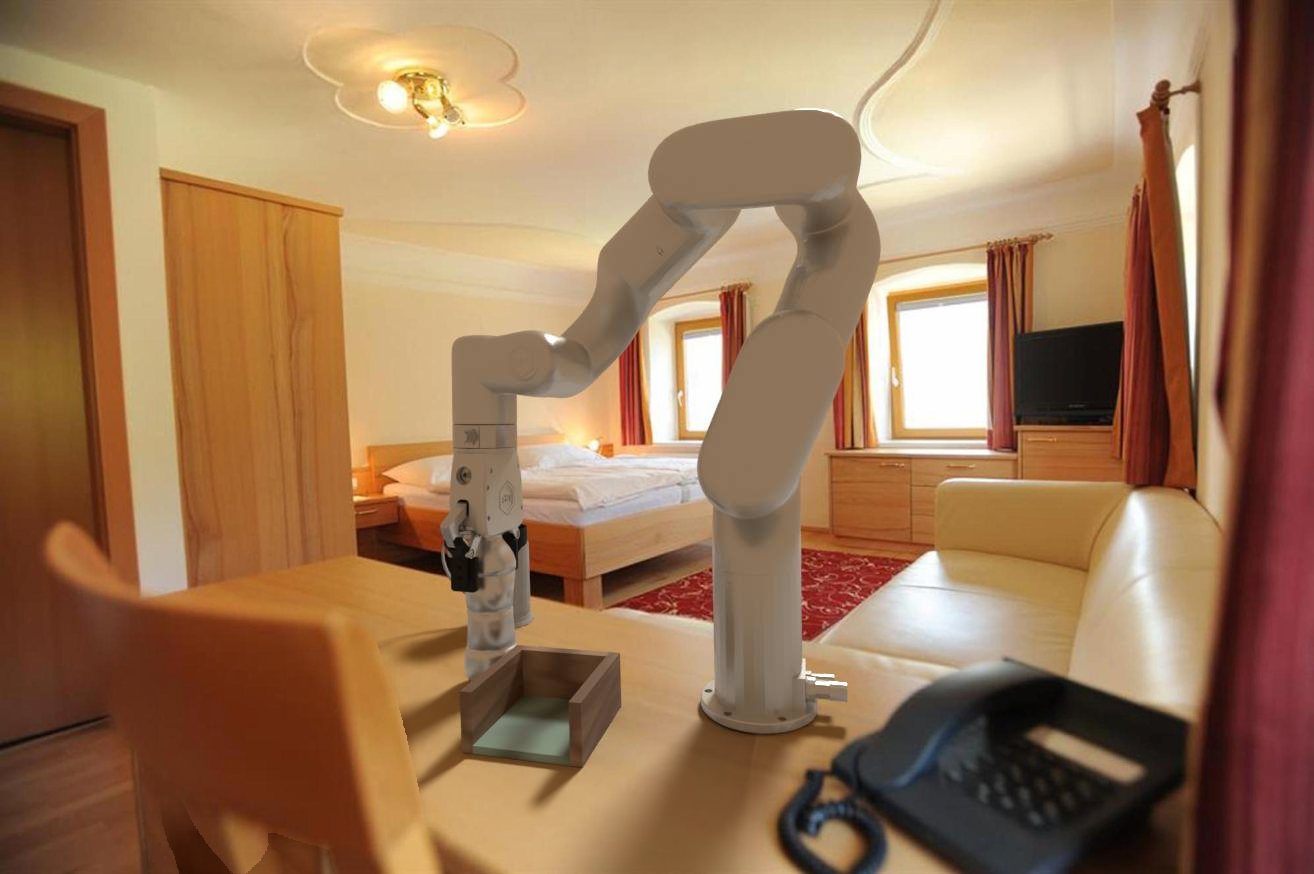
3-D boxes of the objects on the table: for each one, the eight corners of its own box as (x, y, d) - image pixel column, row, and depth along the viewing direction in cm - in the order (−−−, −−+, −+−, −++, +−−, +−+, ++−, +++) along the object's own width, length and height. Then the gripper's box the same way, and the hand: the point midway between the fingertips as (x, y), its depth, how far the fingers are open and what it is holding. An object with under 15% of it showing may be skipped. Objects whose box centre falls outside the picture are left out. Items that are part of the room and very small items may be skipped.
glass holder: (527, 630, 92) (524, 532, 92) (433, 632, 92) (430, 534, 92) (538, 611, 101) (536, 521, 101) (453, 613, 101) (450, 523, 101)
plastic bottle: (507, 695, 71) (501, 524, 70) (453, 691, 72) (448, 523, 71) (529, 672, 77) (524, 515, 76) (480, 668, 78) (475, 514, 78)
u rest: (621, 706, 67) (620, 652, 67) (582, 767, 56) (580, 703, 56) (518, 696, 70) (517, 644, 70) (461, 752, 59) (459, 691, 59)
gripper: (475, 443, 64) (477, 603, 65) (544, 437, 81) (544, 564, 82) (413, 442, 66) (415, 598, 67) (493, 436, 83) (494, 561, 83)
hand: (486, 579), depth 74 cm, fingers open, 9 cm apart
